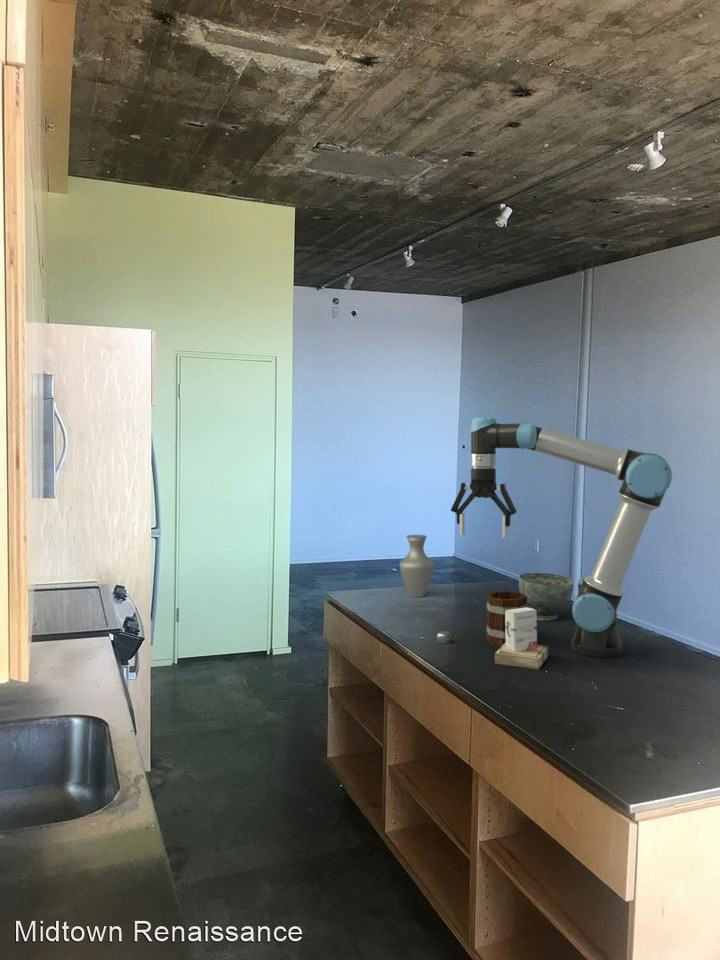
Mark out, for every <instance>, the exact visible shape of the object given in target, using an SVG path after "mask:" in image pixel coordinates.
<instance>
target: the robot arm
mask: <svg viewBox="0 0 720 960" xmlns="http://www.w3.org/2000/svg"><path fill="white" fill-rule="evenodd" d="M470 426H471V430H470V466H471V467H472V468H471V469H470V483H468V482H465V481H464V482H461V484H460V490H459V491H458V493H457V496H456V497H455V500H454V502H453V504H452V507H451V508H450V511H451V512H452V513H455V514H456V524H457V525H459V536H463V535H465V534H466V527H465V526H466V518H465V517H466V515H465V512H464V511H466V508H468V506H469V505H470V504H471V503H472V502H473V500H474V499H475V498H479V499H480V498H485V499H488V498H490V499H491V500H492V501H493V502H494V504H495V505H496V506H497V507H498V508H499V510H500V511H501V512H502V514H503V516H502V525H501V526H502V527H501V528H502V530H501V531H502V532H501V535H502V536H501V537H502V538H504V539H505V538H507V537H508V527H510V526H511V517H512V515H515V514H516V513H518V510H517V509H516V507H515V505H514V503H513V501H512V498H511V497H510V494H509V492H508V490H507V489H508V488H507V484H506V483H500V484H499V483H498V484H497V482H496V481H497V478H496V477H497V476H496V475H497V474H496V473H497V471H496V470H497V469H496V468H495V467H496V466H497V463H496V462H497V461H496V460H497V458H496V456H497V455H496V453H497V451H496V450H497V449H521V450H522V449H523V450H526V449H528V450H531V451H534V452H538V453H542V454H544V455H547V456H551V457H555V458H558V459H560V460H564V461H568V462H571V463H574V464H578V465H579V466H580V465H581V466H584V467H587V468H591V469H593V470H597V471H601V472H604V473H608V474H611V475H613V476H615V477H616V479H617V480H619V481H622V484H621V486H620V488H619V491H618V495H619V496H620V500H621V501H620V502H619V505H618V507H617V511H616V512H615V515H614V518H613V520H612V523H611V525H610V527H609V530H608V532H607V536H606V538H605V541H604V543H603V545H602V548H601V550H600V553H599V555H598V558H597V561H596V563H595V565H594V567H593V570H592V572H591V574H590V575H589V576H582V577H580V578H579V579H578V580H577V581H578V583H577V596H576V598H575V600H574V602H573V603H572V607H571V608H572V609H571V612H572V618H573V620H574V622H575V623H576V628H575V631H574V634H573V636H572V639H571V650H572V651H573V652H575V653H577V654H579V655H583V656H588V657H595V658H611V657H612V658H613V657H617V656H620V655H621V654H622V653H623V643H622V641H621V637H620V634H619V631H618V628H617V627H618V626H617V619H618V617H617V613H618V610H617V609H618V607H619V605H620V603H621V599H622V597H623V595H624V592H623V590H622V588H621V586H622V583H623V581H624V578H625V575H626V573H627V570H628V568H629V566H630V563H631V561H632V559H633V556H634V554H635V551H636V549H637V547H638V544H639V543H640V539H641V537H642V535H643V532H644V530H645V527H646V526H647V522H648V520H649V518H650V515H651V512H652V511H654V510H657V509H659V508H660V506H661V504H662V501H663V498H664V496H665V494H666V491H667V490H668V489H669V487H670V485H671V482H672V479H673V474H672V469H671V467H670V464H669V463H668V462H667V460H665V458H664V457H662V456H661V455H658V454H656V453H651V452H642V451H636V450H632V449H629V448H627V449H624V450H620V449H617V448H613V447H609V446H606V445H603V444H598V443H595V442H592V441H588V440H585V439H581V438H578V437H574V436H571V435H569V434H564V433H560V432H557V431H553V430H550V429H547V428H542V427H539V426H536V425H535V424H534V423H528V422H521V423H519V422H517V423H497V420H496V418H495V417H494V416H493V417H491V416H490V417H473V418H472V420H471V425H470ZM469 489H470V490H471V493H470V494H469V495H468V497H467V498H466V499H465V500H464V502H463V503H462V504H461V502H462V500H463V498H464V496H465V494H466V492H467V490H469ZM497 489H498V491H500V494H501V495H502V496H501V497H502V498H503V500H504V502H505V504H506V505H505V504H504V502H503V501H502V500H501V498H500V497H499V496H498V494H497V493H496V490H497ZM460 504H461V505H460ZM459 506H460V507H459ZM502 538H501V539H502Z"/></svg>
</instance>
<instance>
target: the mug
mask: <svg viewBox="0 0 720 960" xmlns="http://www.w3.org/2000/svg"><path fill="white" fill-rule="evenodd" d="M485 598H486V612H485V620H486V634H485V640H486V641H487V643H489V644H492V645H496V646H500V647H502V646H503V645H504V644H505V643H506V633H505V610H512V609H519V608H526V607H527V603H528V602H527V596H526V595H524V594H523V593H520V592H518V591H512V590H507V591H506V590H504V591H503V590H497V591H492V592H489V593H486V594H485Z"/></svg>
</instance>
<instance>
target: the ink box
mask: <svg viewBox="0 0 720 960" xmlns="http://www.w3.org/2000/svg"><path fill="white" fill-rule="evenodd" d="M536 610H537V609H534V608H532V607H528V606H526V608H519V609H512V610H505V633H506V648H507V649H509V650H511V651H514V652H519V651H524V650H530V649H535V648H537V645H538V624H537V621H538V620H537V611H536Z"/></svg>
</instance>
